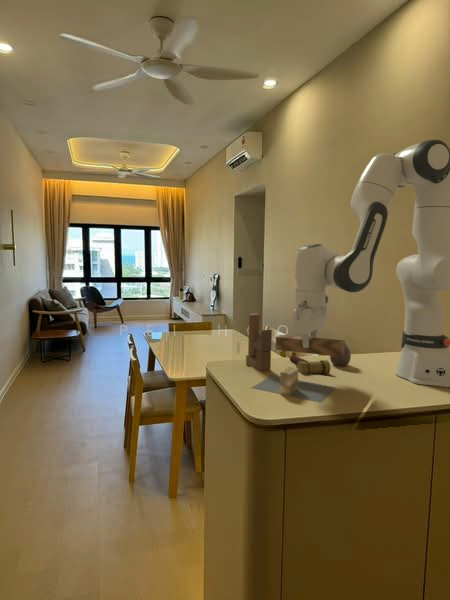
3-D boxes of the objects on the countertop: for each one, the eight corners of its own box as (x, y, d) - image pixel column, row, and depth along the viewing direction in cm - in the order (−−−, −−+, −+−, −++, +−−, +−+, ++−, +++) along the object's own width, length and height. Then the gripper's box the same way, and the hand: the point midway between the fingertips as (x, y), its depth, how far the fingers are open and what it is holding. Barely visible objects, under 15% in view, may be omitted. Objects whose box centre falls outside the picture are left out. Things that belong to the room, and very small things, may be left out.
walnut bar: (344, 353, 116) (344, 340, 115) (341, 357, 112) (341, 343, 112) (280, 346, 125) (280, 334, 125) (275, 349, 122) (275, 336, 121)
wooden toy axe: (261, 373, 127) (262, 318, 125) (245, 365, 136) (246, 313, 134) (270, 372, 128) (272, 317, 126) (254, 364, 138) (256, 313, 136)
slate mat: (336, 390, 112) (336, 387, 112) (320, 405, 101) (321, 402, 100) (271, 377, 123) (271, 375, 123) (251, 390, 111) (251, 387, 111)
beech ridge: (297, 389, 110) (298, 368, 109) (289, 395, 105) (290, 373, 104) (288, 387, 111) (288, 366, 111) (279, 393, 106) (280, 372, 106)
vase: (328, 366, 136) (329, 341, 135) (331, 361, 143) (332, 338, 142) (349, 369, 134) (350, 343, 133) (351, 364, 140) (352, 339, 139)
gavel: (277, 351, 144) (302, 350, 147) (277, 363, 145) (302, 362, 147) (302, 363, 124) (330, 361, 127) (302, 377, 124) (330, 375, 127)
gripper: (308, 304, 106) (308, 354, 108) (330, 296, 124) (329, 339, 125) (286, 303, 110) (286, 352, 111) (310, 295, 127) (310, 338, 129)
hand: (309, 345), depth 119 cm, fingers closed on walnut bar, 4 cm apart
